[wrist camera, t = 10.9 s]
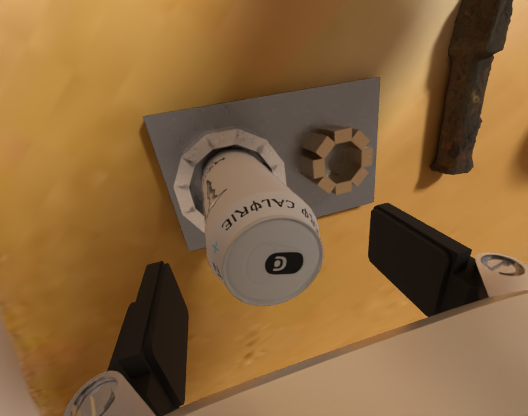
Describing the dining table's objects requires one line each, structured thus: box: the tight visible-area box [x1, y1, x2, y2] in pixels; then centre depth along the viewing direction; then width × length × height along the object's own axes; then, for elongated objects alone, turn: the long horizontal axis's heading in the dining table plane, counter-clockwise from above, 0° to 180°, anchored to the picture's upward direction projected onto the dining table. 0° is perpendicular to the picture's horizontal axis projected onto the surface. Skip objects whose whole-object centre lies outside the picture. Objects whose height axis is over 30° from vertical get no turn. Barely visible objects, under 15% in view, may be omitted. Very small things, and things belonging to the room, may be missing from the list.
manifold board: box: [143, 77, 380, 252], centre depth 25 cm, size 23×14×4 cm, turn 99°
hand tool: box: [430, 0, 513, 175], centre depth 27 cm, size 19×4×5 cm, turn 7°
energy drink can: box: [201, 149, 323, 306], centre depth 18 cm, size 6×6×15 cm
